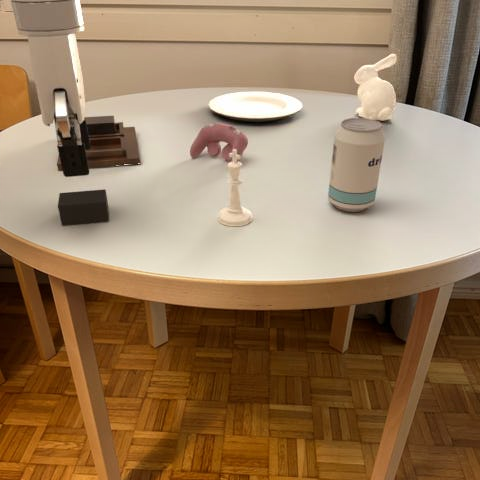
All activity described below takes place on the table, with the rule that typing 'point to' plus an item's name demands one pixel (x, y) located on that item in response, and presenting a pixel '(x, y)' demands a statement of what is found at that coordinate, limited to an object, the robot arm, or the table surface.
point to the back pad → (83, 207)
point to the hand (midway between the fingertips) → (78, 161)
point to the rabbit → (375, 91)
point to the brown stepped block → (109, 143)
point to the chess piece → (234, 197)
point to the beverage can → (356, 164)
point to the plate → (255, 106)
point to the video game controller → (212, 138)
